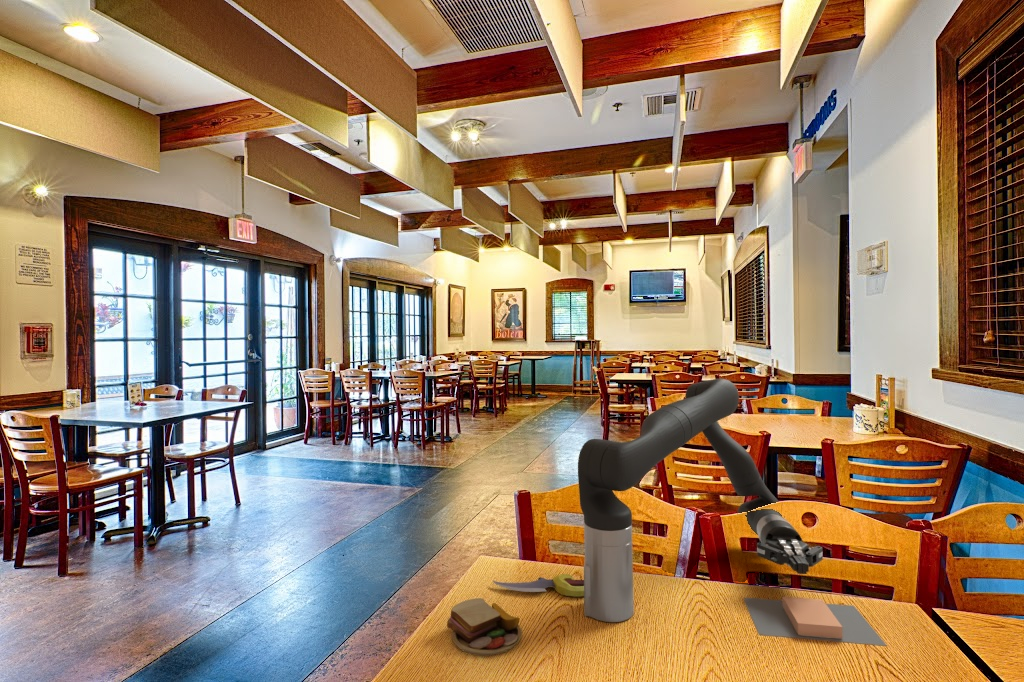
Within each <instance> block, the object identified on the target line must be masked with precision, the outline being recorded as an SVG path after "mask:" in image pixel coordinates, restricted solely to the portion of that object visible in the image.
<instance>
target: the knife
mask: <svg viewBox="0 0 1024 682" xmlns="http://www.w3.org/2000/svg"><path fill="white" fill-rule="evenodd" d="M492 583H493V584H495V585H497V586H500V587H502V588H505V589H507V590H511V591H517V592H527V593H529V592H530V593H536V592H537V593H539V592H547V589H546V588H554V590H555V591H556V592H557V593H558V594H561V595H563V596H566V597H574V598H575V597H576V598H579V597H580V598H581V597H584V579H575V578H574V577H572V575H571V574H570V573H568V574H565V573H562V574H557V575H555V576H553V578H551V579H547V578H545V577H543V576H541V577H540V576H539V577H538V579H537V580H533V581H529V582H528V581H527V582H526V581H525V582H498V581H496V580H492Z"/></svg>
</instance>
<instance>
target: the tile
mask: <svg viewBox="0 0 1024 682" xmlns="http://www.w3.org/2000/svg"><path fill="white" fill-rule="evenodd" d="M781 598H782V599H781V600H782V602H783V609H784V610H785V612H786V614H787V616H788V617H789V619H790V621H791V623H792V625H793V626H794V628H795V630H796V632H797V633H798V635H801V636H813V637H824V638H836V639H841V638H843V628H842V625H841V624H840V623H839V621H838V620H837V619H836V617H835V616H834V615H833V613H832V612H831V610H830V609H829V608H828V606H827V605H826V604H827V603H826V602H825V601H824V600H823V598H821V599H820V598H810V597H809V598H807V597H806V598H805V597H794V596H782V597H781Z"/></svg>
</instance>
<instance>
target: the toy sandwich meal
mask: <svg viewBox="0 0 1024 682" xmlns="http://www.w3.org/2000/svg"><path fill="white" fill-rule="evenodd" d="M519 623H520V617H515V616H514V615H511V614H509V613H508V612H506V611H505V609H503V608H502V607H501V606H500V605H499V604H497V603H496V602H493V603H492V604H491V605H489V603H487V602H486V600H485V599H484V598H481V597H480V598H479V597H478V598H476V597H475V598H470V599H467V600H464V601H461V602H459V603H456V604H455V605H453V607H452V608H451V609H450V616H449V618H448V619H447V622H446V627H447V628H448V629H451V630H452V632H451V633H452V634H451V638H452V641H453V643H454V645H455V646H457V647H458V648H459V649H460V650H461V651H463V652H464V653H466V654H470V655H474V656H479V657H480V656H481V657H483V656H484V657H485V656H486V657H487V656H496V655H500V654H504V653H505V652H507V651H509V650H511V649H512V648H514V647H515V646H516V645H517V644H518V642H519V641H520V640H521V638H522V635H523V631H522V628H521V626H520V625H519Z"/></svg>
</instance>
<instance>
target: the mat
mask: <svg viewBox="0 0 1024 682" xmlns="http://www.w3.org/2000/svg"><path fill="white" fill-rule="evenodd" d="M742 599H743V601H744V603H745V605H746V608H747V611H748V612H749V615H750V616H751V620H752V622H753V624H754V626H755V628H756V631H757V634H758V635H759V636H765V637H767V636H768V637H780V638H788V639H789V638H790V639H799V640H800V639H801V640H812V641H813V640H814V641H822V642H823V641H824V642H835V643H847V644H856V645H857V644H859V645H872V646H880V647H881V646H884V647H888V645H887V643H885V642H884V640H883V639H882V637H881V636H880V635H879V634H878V633H877V632H876V630H875V629H874V628H873V626H872V625H871V624H870V623H869V622H868V621H867V620H866V618H865V617H864V616H863V614H861V612H860V611H859V610H858V609H857V608H856V606H855V605H851V604H850V605H849V604H836V603H825V604H826V605H827V606H828V608H829V609H830V610H831V612H832V613H833V615H834V616H835V617H836V619H837V620H838V621H839V623H840V624H841V625H842V628H843V638H841V639H836V638H824V637H813V636H801V635H798V633H797V632H796V630H795V628H794V626H793V625H792V623H791V621H790V619H789V617H788V616H787V614H786V612H785V610H784V609H783V602H782V599H771V598H770V599H769V598H757V597H742Z"/></svg>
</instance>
